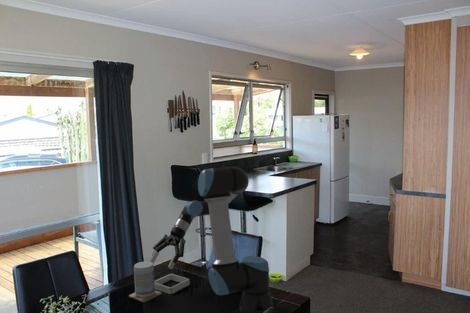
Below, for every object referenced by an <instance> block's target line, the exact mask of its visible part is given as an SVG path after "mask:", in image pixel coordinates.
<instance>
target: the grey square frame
mask: <svg viewBox="0 0 470 313" xmlns="http://www.w3.org/2000/svg"><path fill="white" fill-rule="evenodd" d="M171 280H172V281H174V282H177V283H176V284H175V285H173V286H171V287H170V286H166V285H164V284H165V283H167V282H170V281H171ZM190 280H191V279H190V278H187V277H184V276H180V275H178V274H174V273H169V274H166V275H165V276H162V277H160V278H158V279H155V290H156V291H159V292H161V293H162V292H163V293H165V294H169V295H172V294H174V293H176V292H179V291H180V290H182V289H184V288H186V287H189V286H190V285H191V282H190Z"/></svg>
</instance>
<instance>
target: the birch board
mask: <svg viewBox="0 0 470 313" xmlns="http://www.w3.org/2000/svg"><path fill="white" fill-rule="evenodd" d="M160 295H162V291H159V290H156V289H155V293H154V294H153V295H151V296H148V297H138V296H136V294H135V292H133V293H131V294H129V295H128V297H129V298H130V299H131V298H132V299H133V300H136V301H138V302H141V303H146V302H148V301H150V300H152V299H154V298H156V297H158V296H160Z"/></svg>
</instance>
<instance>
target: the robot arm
mask: <svg viewBox="0 0 470 313" xmlns="http://www.w3.org/2000/svg"><path fill="white" fill-rule="evenodd" d="M249 183H250V181H249V177H248V174H247V173H246V172H245V170H243V169H242V168H241V167H237V166H226V167H211V168H206V169H205V168H204V169H203V170H202V171H201V172H200V174H199V176H198V181H197V190H198V193H199V195H200V196H201V197H203V201H199V200H192V201H191V202H186V203H185V205H184V206H183V209H182V211H181V212H180V214H179V216H178V218H176V221H175V223H174V226H173V227H172V228H171V230H170V234H169V235H167V234H164V236H163V237H162V238H161V239H160V240H159V241H158V242H156V244H155V245H154V246H153V247H152V249H153V250H154V251H153V253H152V255H151V258H150V260H149V261H148V262H152V263H153V265H154V263H155V261H156V259H157V258H158V256H160V255H159V254H160V252H161V251H162V250H164V249H165V248H167V247H169V246H173V247H174V252H175V254H173V256H172V258H171V260H170V262H169V264H168V265H167V268H168V269H169V270H173V269H174V267H175V264H177V262H178V260H179V259H180V258H184V253H185V244H186V242H187V241H186V239H185V238H184V237H185V236H186V233H187V231H188V230H189V228H190V227H191V224H192V223H193V220H194V219H196V218H197V217H202V216H203V217H204V216H209V220H210V221H209V222H210V229H211V239H212V246H213V255H214V259H213V260H212V262H211V268H209V269H208V281H209V284H210V286H211V287H210V288H211V289H212V290H213V292H214V293H215V294H216V295H218V296H224V295H229V294H233V293H237V292H242V294H241V297H240V301H239V311H240V313H263V312H264V311H265V310H267V309H268V308H270V307H273V308H274V303H273V299H272V296H271V294H270V267H269V266H270V265H269V262H268V261H267V259H265V258H263V257H261V256H254V255H247V256H246V255H245V256H244V257H242V259H241V262H240V261H239V259H238V258H237V257H236V256H235V250H234V249H235V248H234V243H233V234H232V233H233V232H232V226H231V219H230V212H229V211H230V210H229V204H230V203H231V202H232V201H233V200H234V199H235V198H236V197H237V196H238V195H241V194H244V193H245V191H246V190H247V188H248V187H249Z"/></svg>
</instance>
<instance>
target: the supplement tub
mask: <svg viewBox="0 0 470 313" xmlns="http://www.w3.org/2000/svg"><path fill="white" fill-rule="evenodd" d="M133 278H134V293H135V294H136V296H138V297H148V296H151V295H153V294H154V293H155V290H156V289H155V281H156V279H155V266H154V264H153V263H152V262H149V261H140V262H136V263H135V264H134V265H133Z"/></svg>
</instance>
